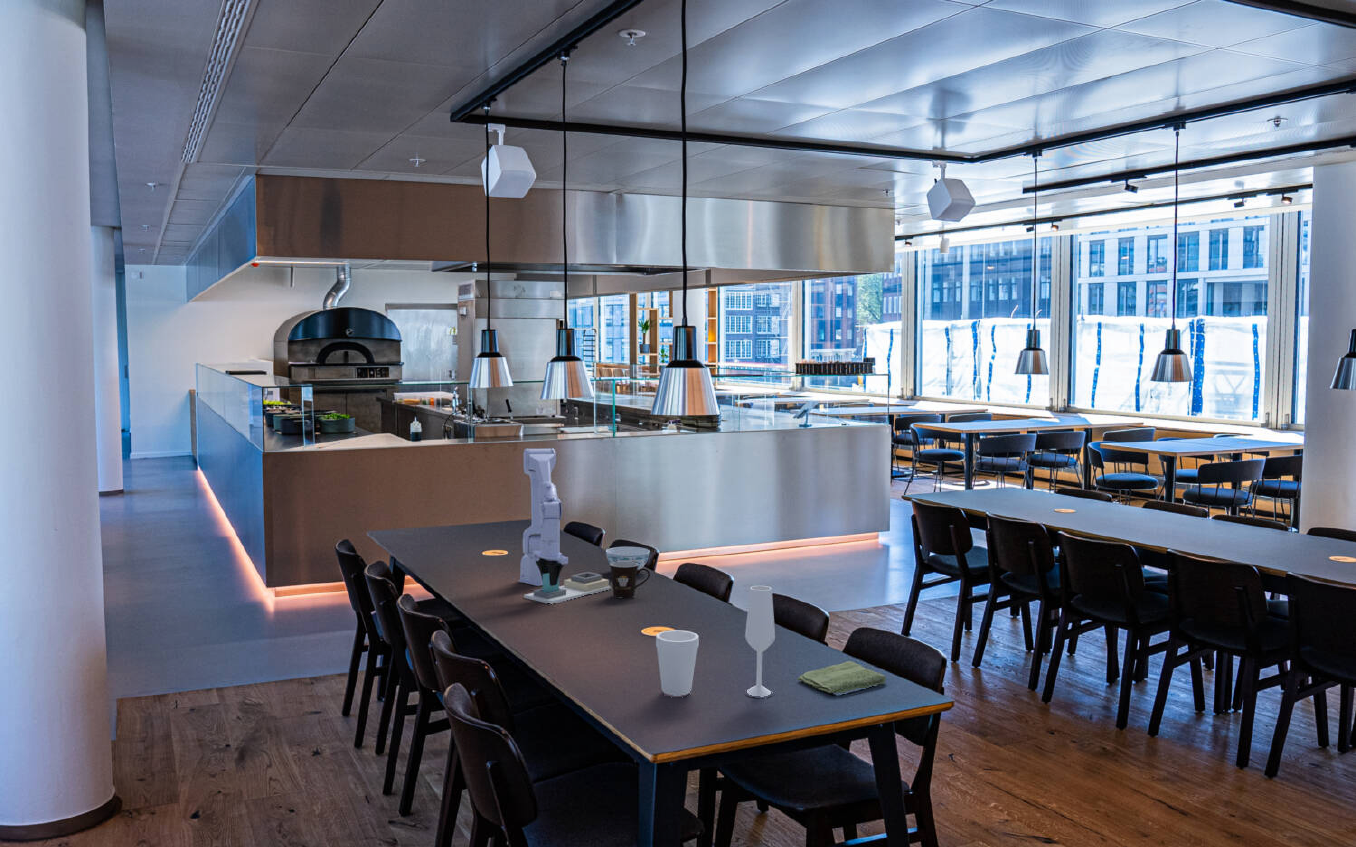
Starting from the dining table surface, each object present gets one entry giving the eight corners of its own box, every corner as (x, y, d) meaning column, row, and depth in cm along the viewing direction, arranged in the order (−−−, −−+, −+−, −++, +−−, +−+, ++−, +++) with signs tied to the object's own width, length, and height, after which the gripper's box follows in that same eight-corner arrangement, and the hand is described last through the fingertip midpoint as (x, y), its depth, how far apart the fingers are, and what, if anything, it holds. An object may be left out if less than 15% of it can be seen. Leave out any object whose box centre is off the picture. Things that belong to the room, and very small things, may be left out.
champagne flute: (771, 688, 233) (774, 584, 231) (775, 698, 226) (778, 591, 224) (742, 688, 232) (744, 584, 231) (745, 698, 226) (747, 591, 224)
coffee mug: (604, 597, 316) (605, 565, 315) (619, 591, 324) (619, 560, 323) (637, 601, 311) (637, 569, 310) (651, 596, 318) (651, 564, 318)
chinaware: (652, 569, 357) (652, 547, 357) (646, 578, 342) (646, 555, 342) (609, 567, 359) (609, 545, 358) (602, 577, 344) (602, 554, 343)
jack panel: (524, 597, 313) (524, 583, 313) (584, 583, 333) (584, 570, 333) (551, 604, 306) (551, 589, 305) (611, 589, 326) (611, 575, 326)
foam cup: (696, 686, 233) (697, 630, 233) (698, 700, 224) (699, 641, 223) (655, 686, 233) (655, 630, 232) (655, 699, 224) (656, 641, 223)
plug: (542, 593, 313) (542, 573, 313) (552, 591, 316) (552, 572, 316) (548, 595, 311) (549, 575, 311) (558, 592, 314) (559, 573, 314)
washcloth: (794, 683, 238) (795, 669, 238) (851, 671, 248) (851, 658, 247) (832, 700, 227) (833, 685, 227) (890, 686, 237) (890, 673, 236)
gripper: (575, 541, 310) (575, 585, 311) (545, 535, 320) (544, 578, 321) (558, 544, 305) (557, 589, 306) (527, 538, 315) (527, 581, 316)
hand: (549, 584), depth 313 cm, fingers closed on plug, 3 cm apart
